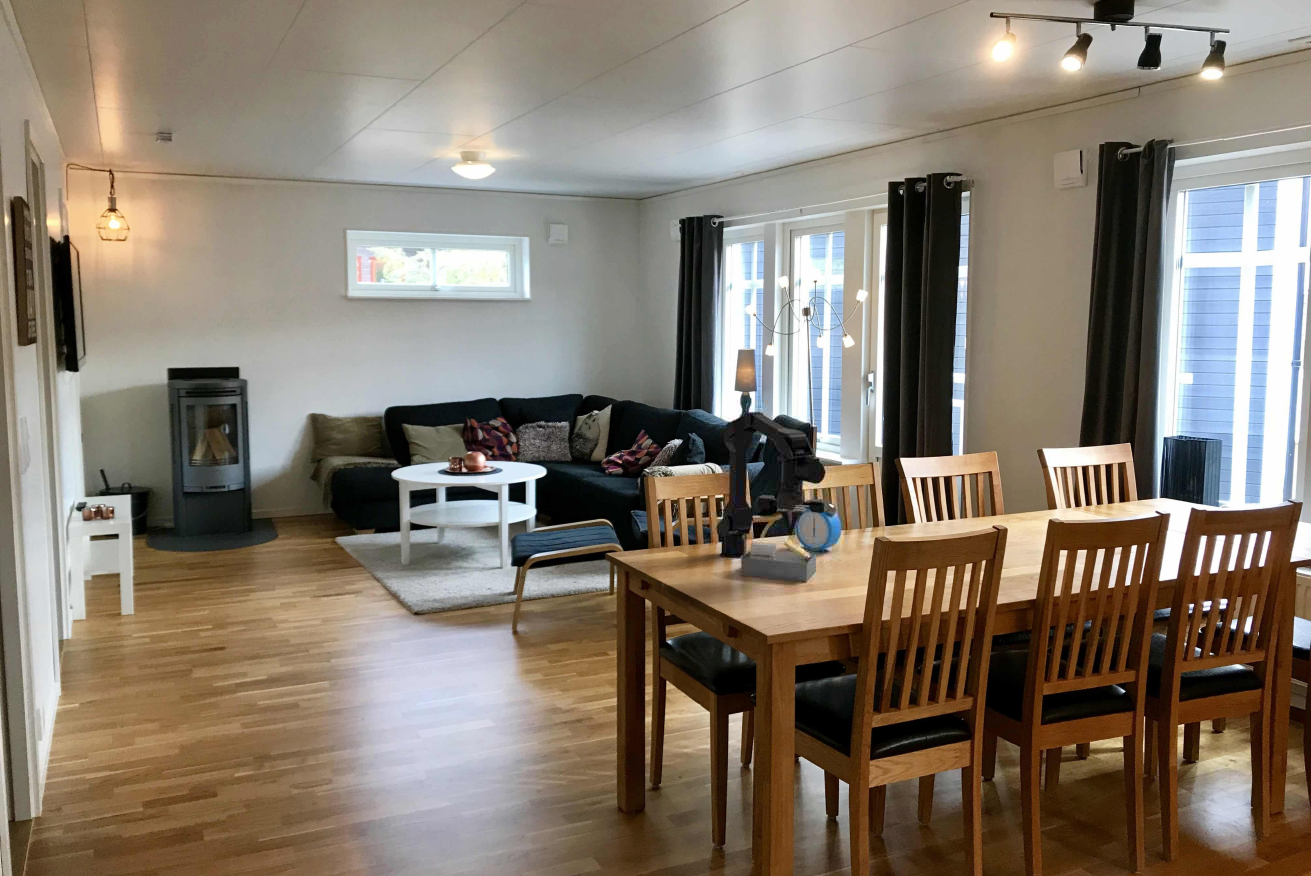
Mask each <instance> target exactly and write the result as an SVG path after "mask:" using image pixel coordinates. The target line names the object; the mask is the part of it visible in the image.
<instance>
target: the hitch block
mask: <svg viewBox="0 0 1311 876" xmlns="http://www.w3.org/2000/svg"><path fill="white" fill-rule="evenodd" d="M810 554H811V557H810V558H809V559H808V560H805V559H804V558H803V557H801V556H800V555H798V554H797V553H795V552H794V551H787V550H786V551H785V550H776V555H775V556H773V557H763V556H756V555H750V550H749V551H748V552H746V554H744V555H743V556H742V557H740V558H741V561H740V564H741V567H740V568H741V571H740V574H741V575H740V576H741V577H751V578H759V579H768V580H778V581H779V580H780V581H789V582H800V583H807V582H808V581H809V580H810V579H811V578H812V577H813V576H814V575H815V573H816V572H817V553H810Z"/></svg>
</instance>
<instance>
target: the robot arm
mask: <svg viewBox="0 0 1311 876" xmlns="http://www.w3.org/2000/svg"><path fill="white" fill-rule="evenodd" d="M757 433H760V434H761V435H763V436H765V437H766V438H768V439H770V440H771V441H773V443H774V444H775V445H774V446H775V448H776V449H777V450H779V452H781V454H780V455H778V456H777V460H778V461H781V463H782V464H781V483H780V489H779V491H778V494H777V496H776V498H775V495H767V494H762V495H760V496H758V497H757V498H756V500H755V508H756V509H762V510H767V509H768V508H770V506H771V507H776V508H777V510H776V511H775V512H776V513H779V514H780V515H781V517H782V519H783V521H784V524H785V526H786V527H785V528H786V530H787V533H788V535H789V536H793V535H794V532H795V528H796V525H797V523H798V520H799V518H800V516H801V514H804V513H805V512H806V511H807V509H806V508H809V510H810V511H811V512H815V513H824V512H825V511H826V510H828V502H829V501H828V500H826V498H825V499H822V498H821V499H820V498H813V499H810V500H811V501H810V502H807V501H806V500H805V496H804V492H803V491H804V488H803V487H804V482H805V483H810V484H815V485H816V484H817V485H818V484H821V482H822V481H823V480H824V479H825V476H826V469H825V467H824V465H823V464H822V463H821V462H820V457H816V455H815V453H814V450H813V448H812V445H811V443H810V441H809V439H808V437H807V436H808V435H806V433H805V432H803V431H801V430H796V429H792V428H788V427H787V428H786V427H784V425H781V424H779V423H777V422H776V421H774V420H773V419H772V418H769V417H768V416H767V415H764V413H763V412H760V411H749V412H746V413H744V414H743V415H742V416H740V417H738V418H736V419H734V420H731V421H728V422H727V423H726V424H725V425H724V428H723V438H724V444H725V446H726V448H727V450H729V485H728V486H729V489H728V492H729V494H728V502H727V504H726V505H725V506H724V509H723V514H722V519H721V520H720V521H719V522H718V524H717V525H716V527H715V530H716V534H717V535H718V536H721V552H720V553H719V556H722V557H731V558H732V557H733V558H742V557H743V556H744V555H746V554H747V539H746V538H745V536H746V535H750V534H751V533H750V532H751V528H752V525H753V522H754V508H753V507H752V506H750V505H749V503H748V502H747V477H748V476H747V475H748V474H747V472H748V467H747V466H748V465H747V464H748V451H749V449H750V448H751V446H752V444H753V441H754V435H755V434H757Z"/></svg>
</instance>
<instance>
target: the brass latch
mask: <svg viewBox="0 0 1311 876" xmlns="http://www.w3.org/2000/svg"><path fill="white" fill-rule="evenodd" d="M783 546H785V547H786V548H788V549H789V550H791V552H795V553H797V554H798V555H800V556H801V557H803V558H804V559H805V560H808V559H809V558H810V557H811V554H812V553H810V552H809V551H807V550H806V549H804V548H802V547H801V546H799V545H798V544H796V543H795V542H794V541H791V540H790V539H786V541H785V542H784V544H783Z"/></svg>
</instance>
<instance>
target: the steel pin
mask: <svg viewBox="0 0 1311 876" xmlns="http://www.w3.org/2000/svg"><path fill="white" fill-rule="evenodd" d="M749 551H750V555H756V556H763V557H773V556H775V555H776V551H777V544H776V543H773V542H771V543H770V542H759V541H753V542H751V543H750V549H749Z"/></svg>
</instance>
